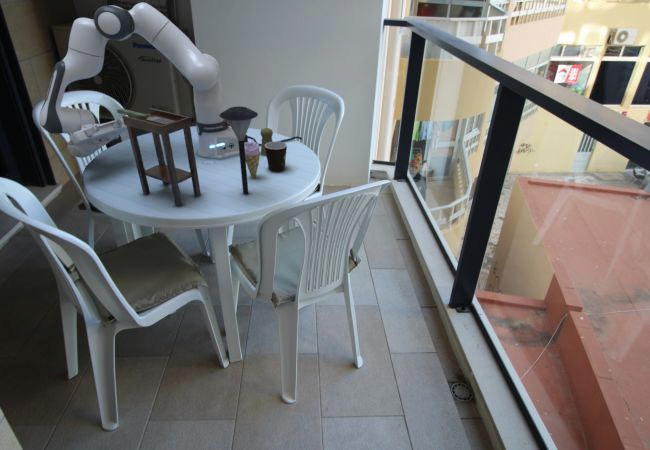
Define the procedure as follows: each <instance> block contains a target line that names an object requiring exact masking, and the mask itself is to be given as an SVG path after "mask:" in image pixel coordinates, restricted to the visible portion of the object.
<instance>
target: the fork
mask: <svg viewBox="0 0 650 450" xmlns="http://www.w3.org/2000/svg"><path fill="white" fill-rule="evenodd" d="M116 112H117V114H120V115H123V116H128V117H132V118H140V119H146V121H147V122H151V123H155V124H159V125H166V124H169V123H172V122H175V121H172V120H168V119H164V118H160V117H156V116H154V117H151V118H150V117H148V115H146V113H142V112H138V111H134V110H129V109H126V108H117V109H116Z"/></svg>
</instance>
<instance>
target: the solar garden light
mask: <svg viewBox="0 0 650 450" xmlns="http://www.w3.org/2000/svg"><path fill="white" fill-rule="evenodd" d="M219 116H220V118H222V119H225V120H227V121H228V123H229V124H230V126H229V127H230V128H232V130H233V132H234V133H235V135H236V137H237V139H238V143H239V164H240V175H241V185H242V186H241V187H242V194H243V195H244V196H247V195H249V183H248V172H247V171H248V170H247V163H246V158H245V147H244V138H245V136H246V135H247V132H248V130H249V127H250V125H251V123H252V120H253V119H255V118H257V117H258V116H259V113H258V112H257V111H254V110H253V109H251V108H249V107H246V106H232V107H228V108H227V109H225V110H223V112H222V113H221V114H220V115H219Z"/></svg>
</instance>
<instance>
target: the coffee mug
mask: <svg viewBox="0 0 650 450" xmlns="http://www.w3.org/2000/svg"><path fill="white" fill-rule="evenodd" d="M287 148H288V145H287V142H285V141H284V142H277V140H276V141H273V142H269V143H266V144H265V150H266V156H265V157H266V160H267V161H266V162H267V167H268V170H269V171H270V172H271V173H282V172H284V171H285V170H286V159H287Z"/></svg>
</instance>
